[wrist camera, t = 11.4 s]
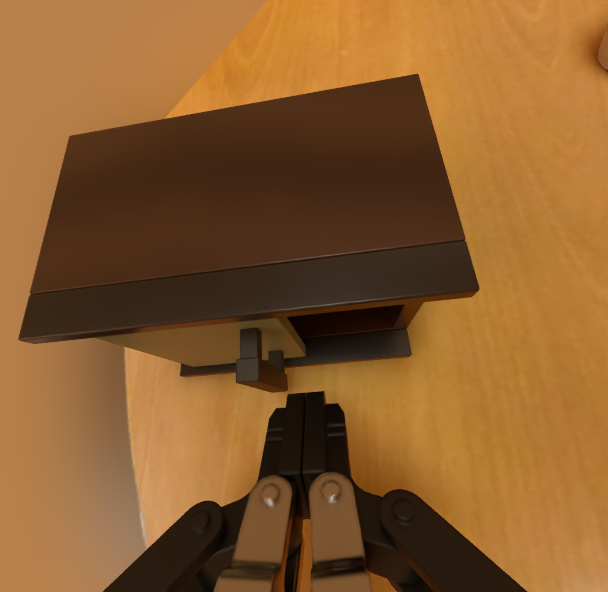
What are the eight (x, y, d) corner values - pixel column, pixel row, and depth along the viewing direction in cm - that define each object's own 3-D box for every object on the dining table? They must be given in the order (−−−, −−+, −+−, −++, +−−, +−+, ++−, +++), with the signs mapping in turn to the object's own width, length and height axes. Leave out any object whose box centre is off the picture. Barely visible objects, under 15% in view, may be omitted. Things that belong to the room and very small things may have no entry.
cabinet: (410, 356, 21) (481, 289, 10) (184, 377, 23) (16, 340, 11) (386, 231, 25) (418, 73, 13) (191, 257, 27) (68, 135, 15)
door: (308, 392, 21) (272, 372, 11) (190, 401, 21) (59, 392, 12) (305, 344, 22) (269, 289, 12) (193, 355, 22) (75, 312, 13)
